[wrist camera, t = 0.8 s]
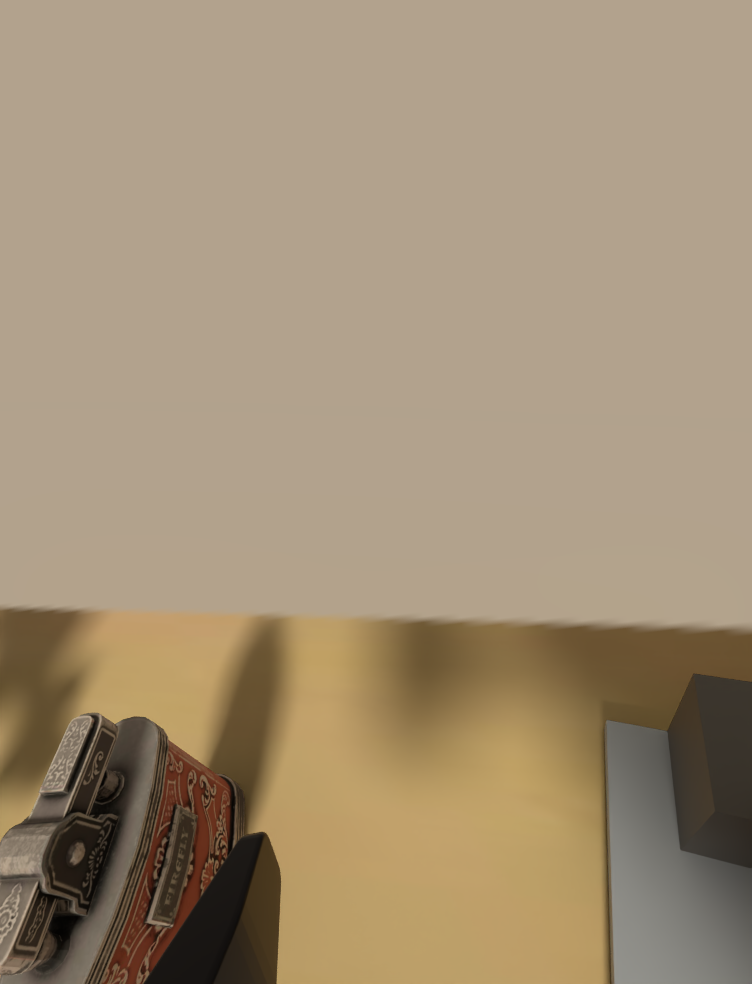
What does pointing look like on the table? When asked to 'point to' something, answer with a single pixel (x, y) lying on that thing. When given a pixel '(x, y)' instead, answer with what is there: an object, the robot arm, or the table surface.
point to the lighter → (111, 855)
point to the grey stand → (682, 841)
